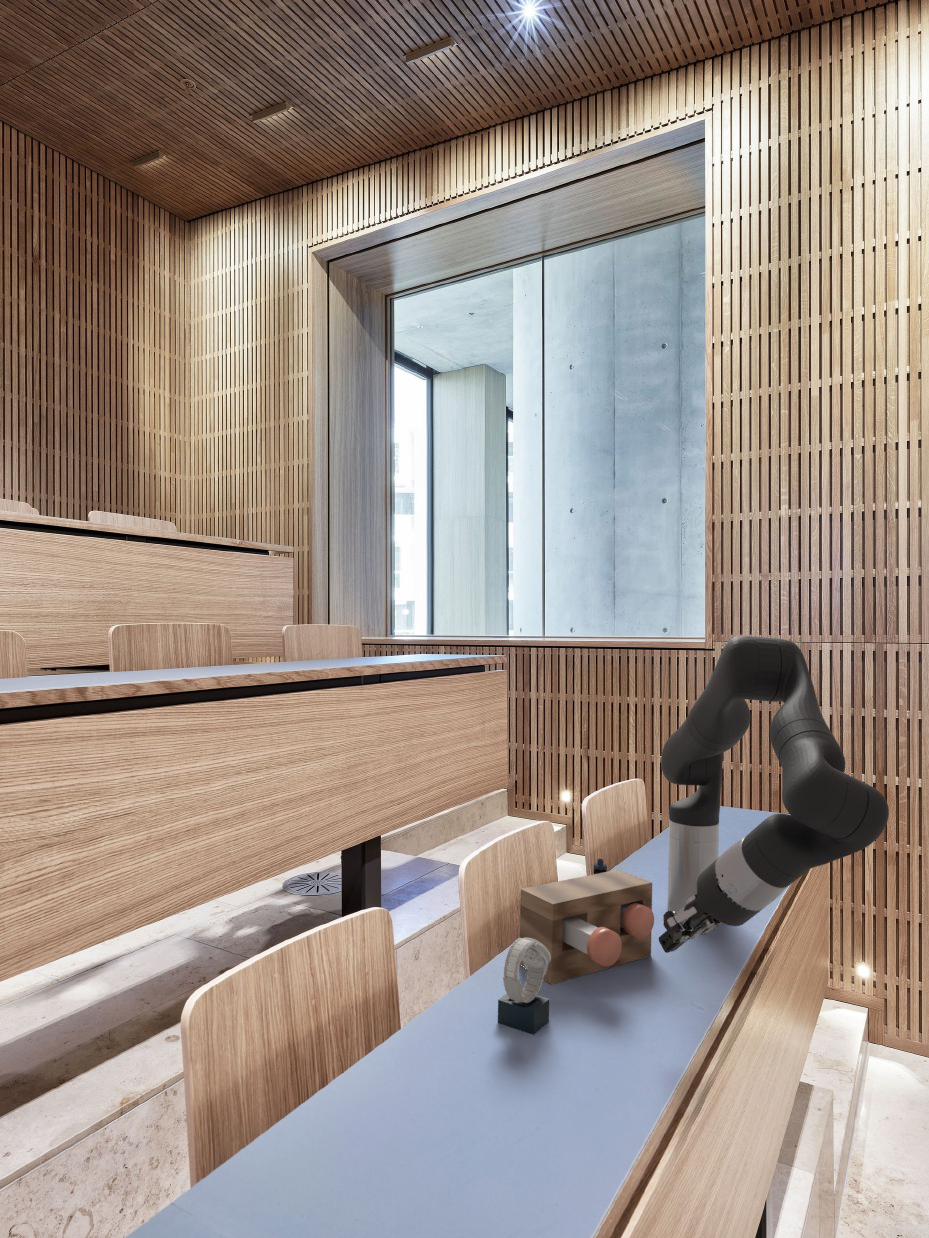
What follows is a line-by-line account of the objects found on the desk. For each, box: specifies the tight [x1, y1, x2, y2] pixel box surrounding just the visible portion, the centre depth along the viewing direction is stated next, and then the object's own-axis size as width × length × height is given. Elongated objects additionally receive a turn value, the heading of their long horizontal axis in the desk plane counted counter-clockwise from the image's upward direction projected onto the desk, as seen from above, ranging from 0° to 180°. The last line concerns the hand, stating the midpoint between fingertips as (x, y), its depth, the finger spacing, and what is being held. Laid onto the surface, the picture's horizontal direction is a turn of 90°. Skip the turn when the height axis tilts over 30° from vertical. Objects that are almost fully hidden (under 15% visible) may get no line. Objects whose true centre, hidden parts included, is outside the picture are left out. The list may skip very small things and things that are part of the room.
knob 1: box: [562, 916, 622, 967], centre depth 120 cm, size 5×10×5 cm, turn 33°
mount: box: [519, 869, 653, 985], centre depth 128 cm, size 21×8×12 cm, turn 123°
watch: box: [497, 937, 551, 1036], centre depth 108 cm, size 6×8×11 cm
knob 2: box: [620, 903, 655, 939], centre depth 131 cm, size 5×10×5 cm, turn 33°
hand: (665, 945), depth 107 cm, fingers closed
